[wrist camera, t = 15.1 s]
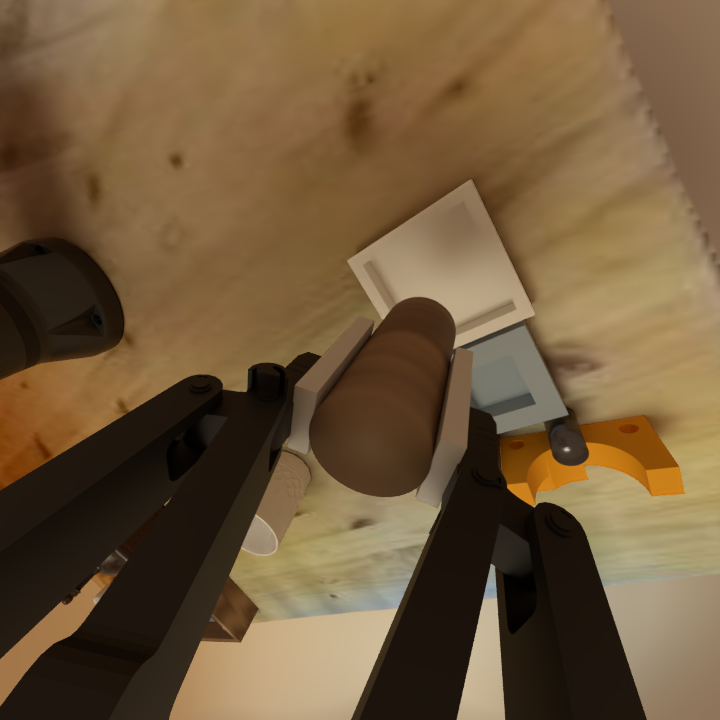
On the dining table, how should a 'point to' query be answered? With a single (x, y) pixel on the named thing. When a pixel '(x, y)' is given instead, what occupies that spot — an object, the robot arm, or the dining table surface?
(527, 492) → the pipe clamp
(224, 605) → the tool caddy
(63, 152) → the dining table surface
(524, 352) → the jig block
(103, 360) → the dining table surface
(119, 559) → the coffee grinder
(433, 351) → the dowel
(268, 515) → the white cup
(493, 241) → the tray
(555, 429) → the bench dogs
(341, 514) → the dining table surface
